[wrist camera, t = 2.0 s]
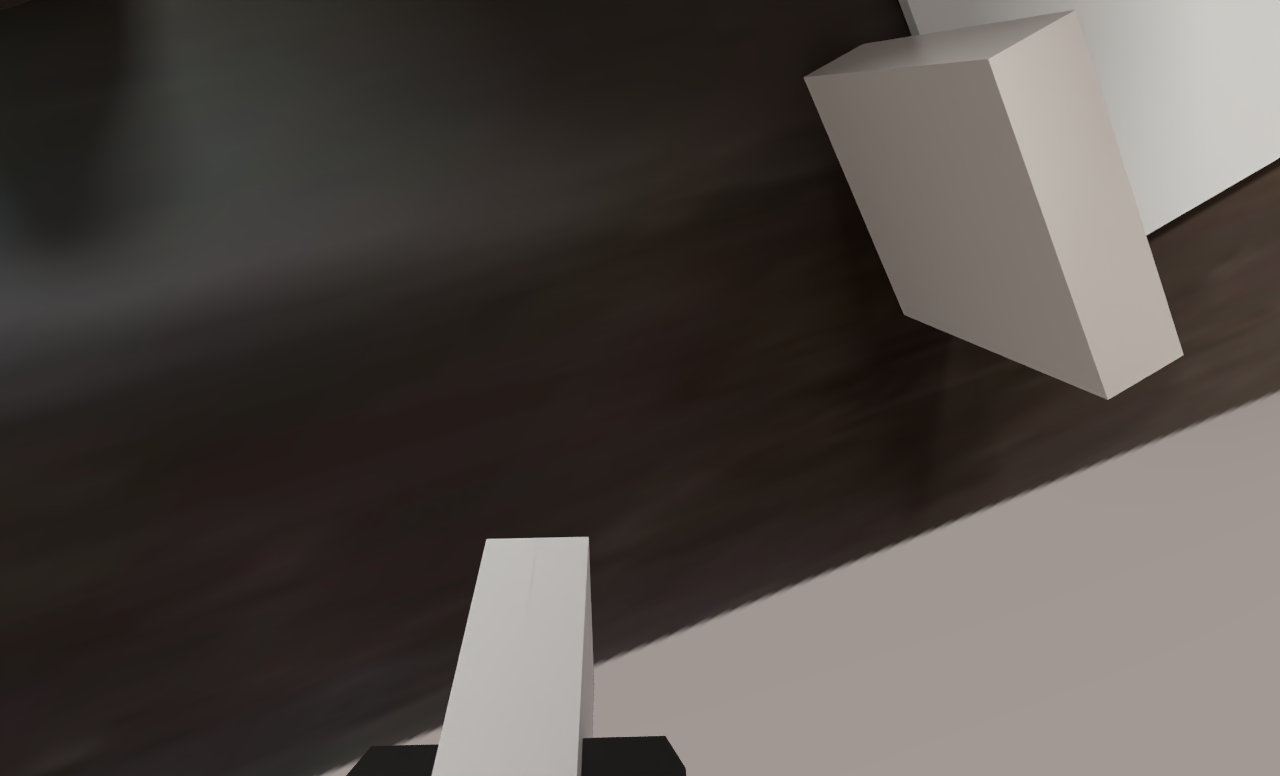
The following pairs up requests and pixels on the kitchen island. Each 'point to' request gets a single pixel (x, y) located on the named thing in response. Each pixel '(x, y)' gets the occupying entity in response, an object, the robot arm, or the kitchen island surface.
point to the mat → (1165, 86)
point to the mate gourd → (11, 3)
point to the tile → (1002, 196)
